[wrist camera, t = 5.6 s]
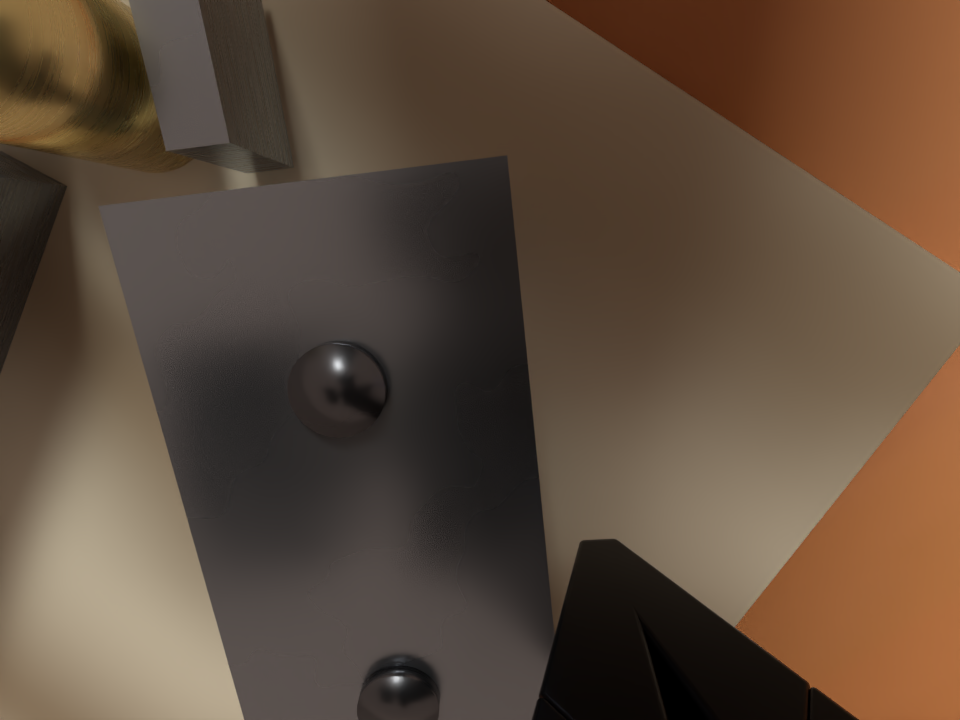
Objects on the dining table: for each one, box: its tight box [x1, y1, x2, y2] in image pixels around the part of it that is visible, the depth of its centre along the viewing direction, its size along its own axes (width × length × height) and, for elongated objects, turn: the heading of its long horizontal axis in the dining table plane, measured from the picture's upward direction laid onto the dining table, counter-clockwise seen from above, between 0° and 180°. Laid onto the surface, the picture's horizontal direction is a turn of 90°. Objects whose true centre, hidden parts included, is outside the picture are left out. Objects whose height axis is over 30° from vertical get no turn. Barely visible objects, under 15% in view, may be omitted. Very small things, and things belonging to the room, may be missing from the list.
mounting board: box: [0, 0, 960, 720], centre depth 9 cm, size 16×21×1 cm
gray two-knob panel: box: [98, 0, 555, 720], centre depth 7 cm, size 4×12×3 cm, turn 7°
